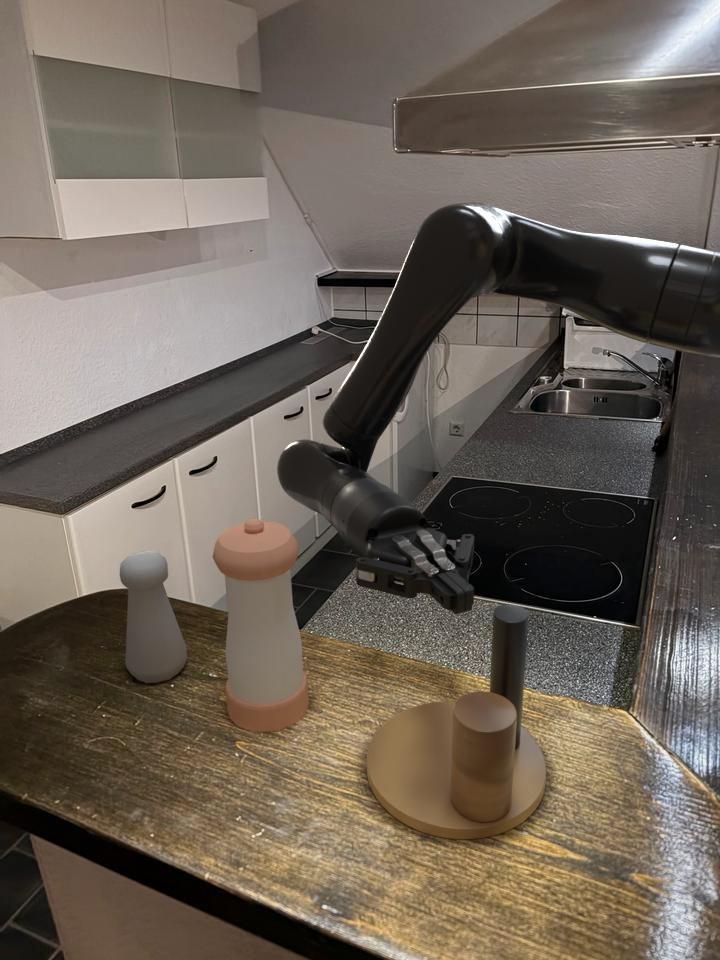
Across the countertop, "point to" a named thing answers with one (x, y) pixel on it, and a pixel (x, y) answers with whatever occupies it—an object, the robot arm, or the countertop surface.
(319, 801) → the countertop surface
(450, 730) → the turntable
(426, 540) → the robot arm
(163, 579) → the salt shaker
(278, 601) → the pepper shaker
